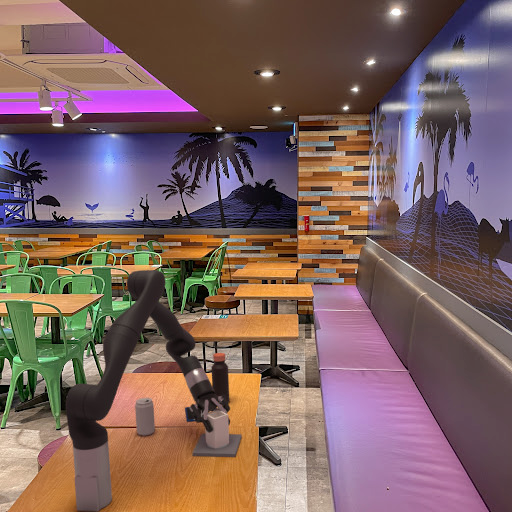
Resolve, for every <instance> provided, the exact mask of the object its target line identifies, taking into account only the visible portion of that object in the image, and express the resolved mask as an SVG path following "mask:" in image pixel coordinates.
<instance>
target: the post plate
mask: <svg viewBox="0 0 512 512" xmlns="http://www.w3.org/2000/svg"><path fill="white" fill-rule="evenodd" d="M242 436H243V435H242V434H239V433H238V434H235V433H229V444H226V445H223V446H221V447H218V448H216V449H215V448H214V447H212V446H210V445H209V444H207V443H206V433H201V434H200V437H199V439H198V441H197V443H196V445H195V446H194V449H193V451H192V452H191V453H192V457H217V458H219V457H220V458H221V457H223V458H224V457H225V458H227V457H228V458H236V455H237V452H238V450H239V446H240V444H239V443H241V441H242ZM240 440H241V441H240Z"/></svg>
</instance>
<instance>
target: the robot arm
mask: <svg viewBox="0 0 512 512" xmlns="http://www.w3.org/2000/svg"><path fill="white" fill-rule="evenodd" d="M126 288H127V291H128V293H129V295H130V296H131V298H133V300H134V301H135V302H134V303H133V304H132V305H131V306H130V307H129V308H127V309H126V310H125V311H124V312H123V313H121V314H120V315H119V316H117V318H115V320H114V321H113V322H112V324H111V325H110V327H109V329H108V331H107V333H106V334H105V336H104V339H103V341H102V342H103V343H102V351H103V353H102V354H103V358H104V371H103V373H102V376H101V378H100V380H99V382H98V383H97V384H89V383H76V384H74V385H73V386H71V388H70V389H68V390H69V391H68V393H67V395H66V399H65V412H66V419H67V428H68V429H67V430H68V435H69V438H70V439H71V441H72V449H73V450H72V451H73V465H74V466H73V467H74V487H75V488H74V489H75V490H74V491H75V501H76V502H75V503H76V511H78V512H79V511H81V512H99V511H101V509H103V508H105V507H107V506H108V505H109V504H110V503H112V500H113V492H112V478H111V477H112V476H111V464H110V463H111V462H110V461H111V460H110V448H109V447H110V446H109V433H108V429H107V428H106V427H105V426H103V425H102V424H100V423H99V422H100V421H102V420H105V418H106V417H107V415H109V412H110V410H111V408H112V406H113V403H114V400H115V397H117V392H118V389H119V386H120V383H121V381H122V378H123V375H124V373H125V370H126V368H127V366H128V363H129V362H130V359H131V357H132V355H133V353H134V351H135V349H136V347H137V345H138V342H139V340H140V338H141V335H142V333H143V331H144V328H145V327H146V324H147V323H148V321H149V318H151V319H152V320H153V322H154V323H155V325H156V326H157V328H158V329H159V332H160V333H161V334H162V336H163V337H164V339H165V340H167V342H166V343H165V350H166V352H167V354H168V355H169V356H170V358H172V360H173V361H174V362H176V364H177V366H178V367H179V368H180V371H181V373H182V375H183V377H184V380H185V383H186V385H187V388H188V390H189V392H190V394H191V396H192V399H193V401H194V402H195V403H192V404H190V405H189V407H190V408H189V410H190V412H191V414H192V416H193V417H194V419H195V421H194V422H196V423H197V424H199V423H201V424H203V427H204V430H205V429H206V431H207V432H209V433H210V432H212V431H213V428H212V426H211V424H210V422H209V420H207V414H208V413H210V412H213V411H216V410H220V411H222V412H224V413H226V414H228V413H229V412H230V411H231V407H230V404H229V403H228V401H227V398H226V396H225V395H224V394H223V395H222V396H219V397H218V396H217V395H216V394H215V392H214V389H213V387H212V382H211V380H210V379H209V377H208V374H207V373H206V372H205V370H204V368H203V366H202V364H201V362H200V360H199V358H198V357H197V356H196V355H188V356H186V357H182V356H184V355H186V354H188V353H190V352H191V351H194V349H195V348H196V340H195V338H194V336H193V335H192V334H191V333H190V332H189V331H187V330H186V329H185V328H184V327H183V326H182V325H181V323H180V322H179V320H178V318H177V316H176V315H175V314H174V313H173V311H172V310H170V308H168V307H167V306H165V305H163V304H162V303H161V302H160V299H161V298H162V295H163V294H164V291H165V288H166V277H165V274H164V273H163V272H162V271H161V270H156V269H155V270H154V269H150V270H149V269H147V270H145V269H143V270H135V271H132V272H131V273H129V275H128V277H127V280H126ZM218 401H220V403H221V404H222V405H221V404H219V403H218ZM197 408H199V409H200V410H201V415H200V414H199V412H198V410H197ZM228 424H229V426H230V424H231V419H230V418H229V416H228ZM206 431H205V432H206Z"/></svg>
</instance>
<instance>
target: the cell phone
mask: <svg viewBox="0 0 512 512" xmlns="http://www.w3.org/2000/svg"><path fill="white" fill-rule="evenodd" d="M189 408H190V406H186V407H184V411H185V419H186V423H193V422H196V421H195V419H194V417H193V416H192V414H191V412H190V410H189ZM197 410H198V412H199V414H200V415H201V410H200V409H199V408H197Z"/></svg>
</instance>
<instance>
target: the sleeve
mask: <svg viewBox="0 0 512 512" xmlns="http://www.w3.org/2000/svg"><path fill="white" fill-rule="evenodd" d="M228 417H229V414H228V413H227V414H226V413H224V412H222V411H220V410H216V411H210V412H209V413H208V414H207V420H209V422H210V424H211V426H212V428H213V431H212V432H210V433H209V432H207V431H206V429H205V428H204V431H205V434H206V443H207V444H209V445H210V446H212V447H214V448H215V449H216V448H218V447H221V446H223V445H226V444H229V434H230V433H229V431H230V430H229V429H230V427H229V426H230V425H229V424H228Z"/></svg>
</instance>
